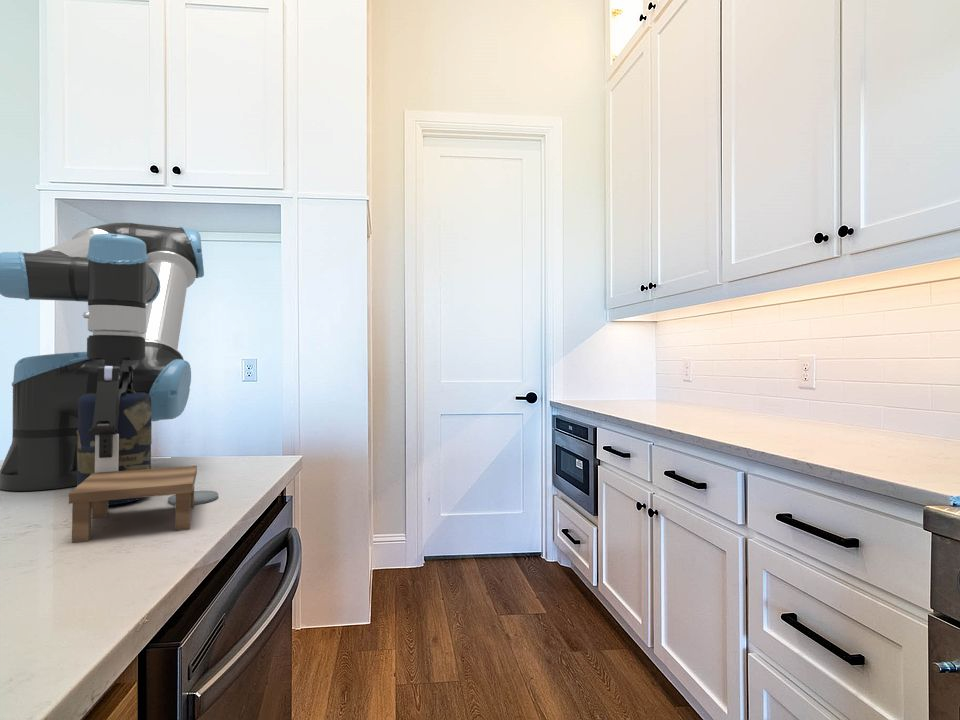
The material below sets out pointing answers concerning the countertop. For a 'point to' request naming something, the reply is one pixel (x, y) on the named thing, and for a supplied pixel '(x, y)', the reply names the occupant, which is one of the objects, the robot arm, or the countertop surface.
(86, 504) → the step stool
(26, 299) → the robot arm
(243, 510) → the countertop surface
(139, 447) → the canister
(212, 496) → the slate coaster
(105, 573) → the countertop surface
